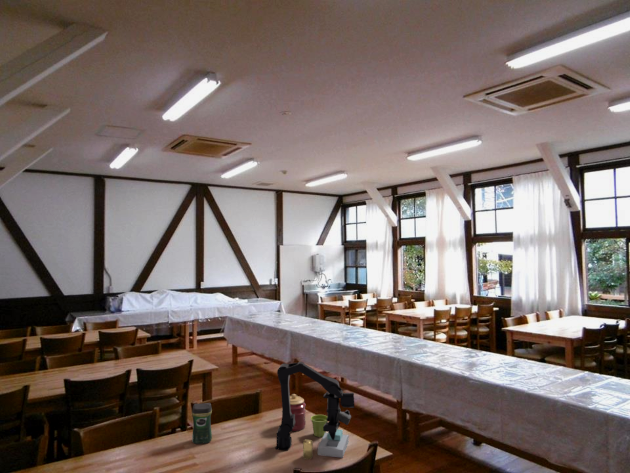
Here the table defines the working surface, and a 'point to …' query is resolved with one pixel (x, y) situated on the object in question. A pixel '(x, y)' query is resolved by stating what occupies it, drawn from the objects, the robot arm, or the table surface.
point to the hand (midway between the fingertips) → (333, 439)
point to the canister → (298, 412)
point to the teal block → (336, 435)
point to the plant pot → (318, 424)
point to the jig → (333, 446)
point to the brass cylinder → (307, 449)
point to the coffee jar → (201, 423)
